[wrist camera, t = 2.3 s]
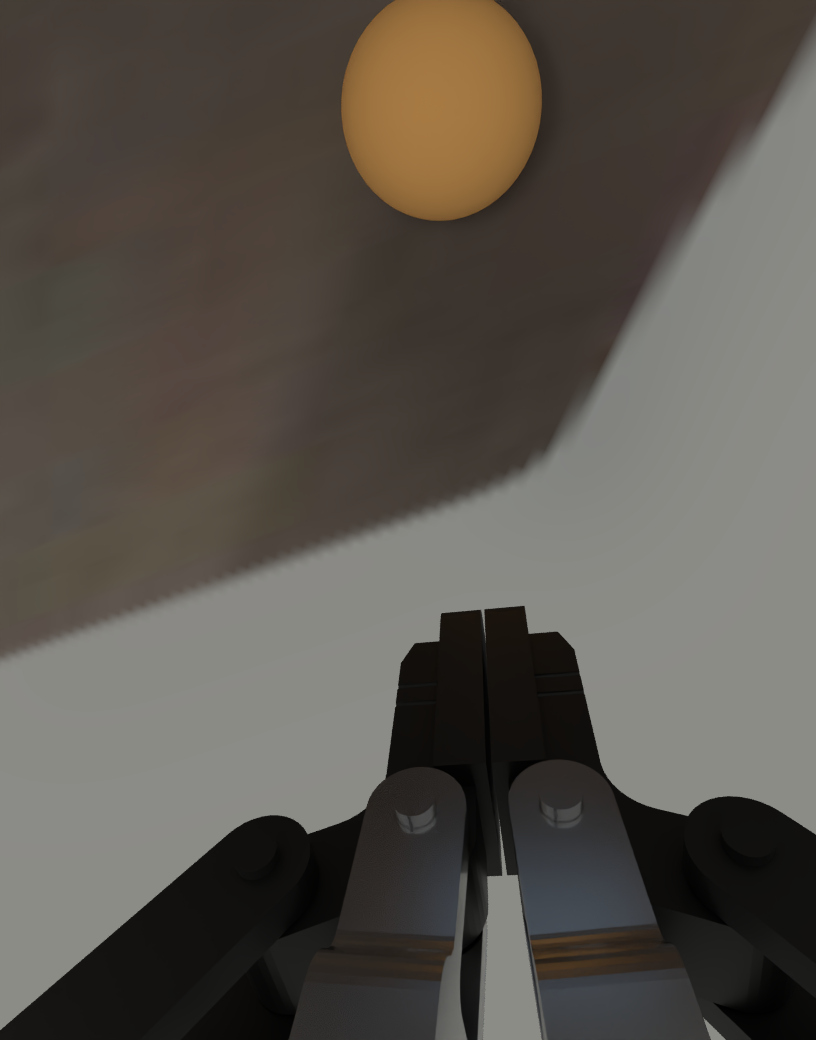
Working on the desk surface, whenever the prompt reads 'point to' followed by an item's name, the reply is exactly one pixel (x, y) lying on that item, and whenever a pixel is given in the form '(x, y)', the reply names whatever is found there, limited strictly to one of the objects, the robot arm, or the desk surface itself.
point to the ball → (441, 105)
